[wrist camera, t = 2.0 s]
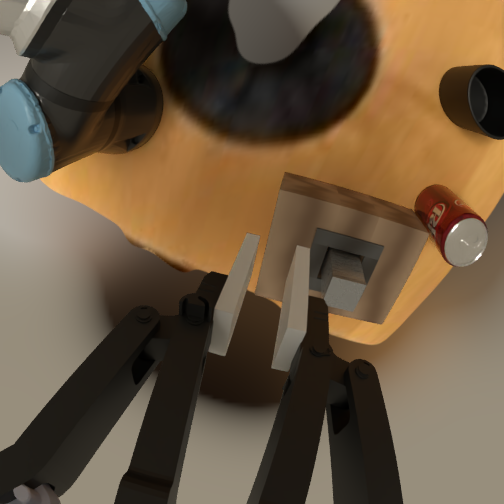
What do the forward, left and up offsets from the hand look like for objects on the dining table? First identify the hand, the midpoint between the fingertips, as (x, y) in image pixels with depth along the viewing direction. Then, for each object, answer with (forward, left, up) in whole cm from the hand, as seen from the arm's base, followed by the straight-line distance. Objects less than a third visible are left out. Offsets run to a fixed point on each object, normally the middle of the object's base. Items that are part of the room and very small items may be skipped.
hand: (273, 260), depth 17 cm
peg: (+9, -10, -20) cm, 24 cm away
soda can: (+23, 0, -27) cm, 35 cm away
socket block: (+9, -10, -26) cm, 30 cm away
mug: (+23, +17, -27) cm, 39 cm away
